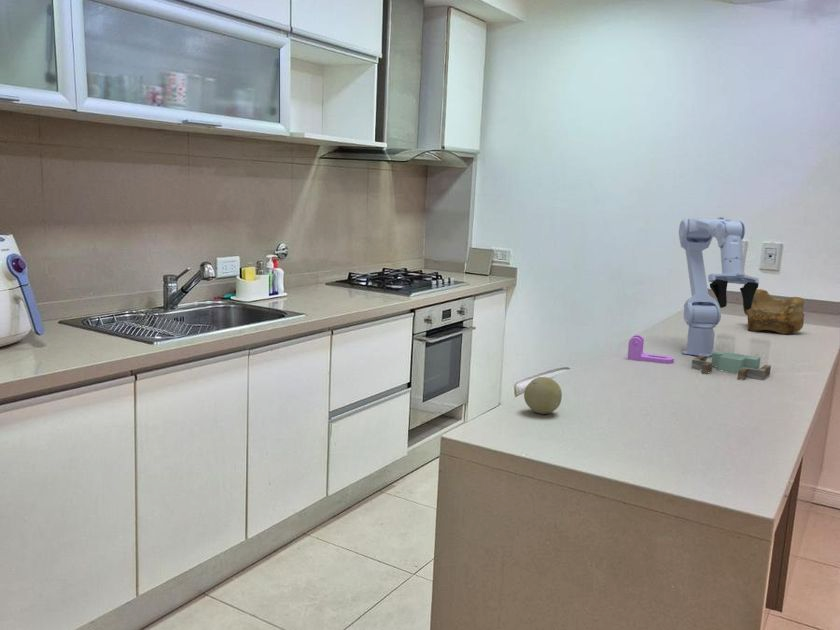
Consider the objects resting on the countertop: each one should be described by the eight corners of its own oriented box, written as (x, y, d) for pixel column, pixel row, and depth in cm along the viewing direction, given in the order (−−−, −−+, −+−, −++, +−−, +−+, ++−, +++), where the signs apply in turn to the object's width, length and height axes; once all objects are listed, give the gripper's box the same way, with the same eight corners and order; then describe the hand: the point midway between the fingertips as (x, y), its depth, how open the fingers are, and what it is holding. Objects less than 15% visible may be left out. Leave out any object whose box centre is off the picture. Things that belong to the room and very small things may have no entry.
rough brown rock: (723, 329, 274) (727, 292, 270) (744, 322, 284) (748, 286, 280) (785, 342, 256) (789, 302, 253) (805, 334, 266) (809, 295, 263)
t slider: (715, 363, 211) (717, 350, 211) (758, 370, 204) (760, 357, 203) (706, 368, 204) (708, 355, 203) (751, 375, 197) (753, 361, 196)
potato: (535, 405, 162) (537, 371, 161) (566, 413, 157) (568, 378, 156) (517, 412, 156) (519, 377, 155) (549, 420, 151) (551, 384, 150)
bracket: (627, 359, 213) (629, 337, 212) (629, 356, 218) (631, 334, 217) (672, 365, 208) (674, 341, 207) (674, 361, 213) (676, 338, 212)
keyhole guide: (700, 363, 211) (701, 354, 210) (769, 374, 199) (770, 365, 199) (686, 370, 201) (687, 362, 200) (759, 382, 189) (760, 373, 189)
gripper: (717, 255, 196) (720, 302, 193) (764, 259, 199) (768, 306, 195) (702, 262, 203) (705, 308, 200) (748, 267, 205) (751, 312, 202)
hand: (735, 308), depth 198 cm, fingers open, 7 cm apart
